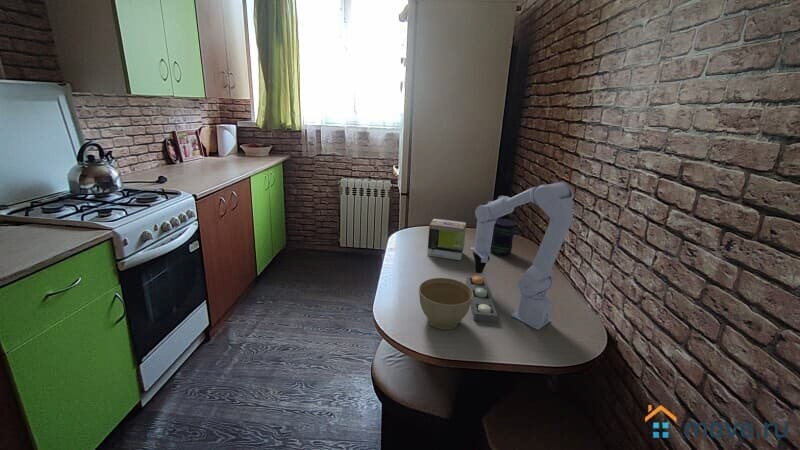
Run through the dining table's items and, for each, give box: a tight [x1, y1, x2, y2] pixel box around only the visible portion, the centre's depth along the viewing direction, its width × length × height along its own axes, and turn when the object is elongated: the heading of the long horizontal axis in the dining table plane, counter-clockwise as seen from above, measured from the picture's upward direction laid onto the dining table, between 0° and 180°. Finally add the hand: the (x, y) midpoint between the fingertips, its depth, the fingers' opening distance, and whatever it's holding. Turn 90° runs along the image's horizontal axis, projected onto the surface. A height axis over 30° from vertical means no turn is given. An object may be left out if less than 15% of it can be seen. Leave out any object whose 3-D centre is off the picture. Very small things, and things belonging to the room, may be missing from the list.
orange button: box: [471, 275, 484, 285], centre depth 132 cm, size 4×4×2 cm
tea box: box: [426, 218, 467, 261], centre depth 158 cm, size 15×10×15 cm, turn 74°
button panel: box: [465, 276, 499, 323], centre depth 124 cm, size 25×7×2 cm, turn 176°
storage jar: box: [490, 217, 517, 258], centre depth 164 cm, size 10×10×15 cm
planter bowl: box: [418, 277, 473, 330], centre depth 110 cm, size 16×16×11 cm
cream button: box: [478, 304, 491, 313], centre depth 115 cm, size 4×4×2 cm
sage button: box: [475, 288, 487, 298], centre depth 124 cm, size 4×4×2 cm
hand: (478, 272), depth 131 cm, fingers closed
